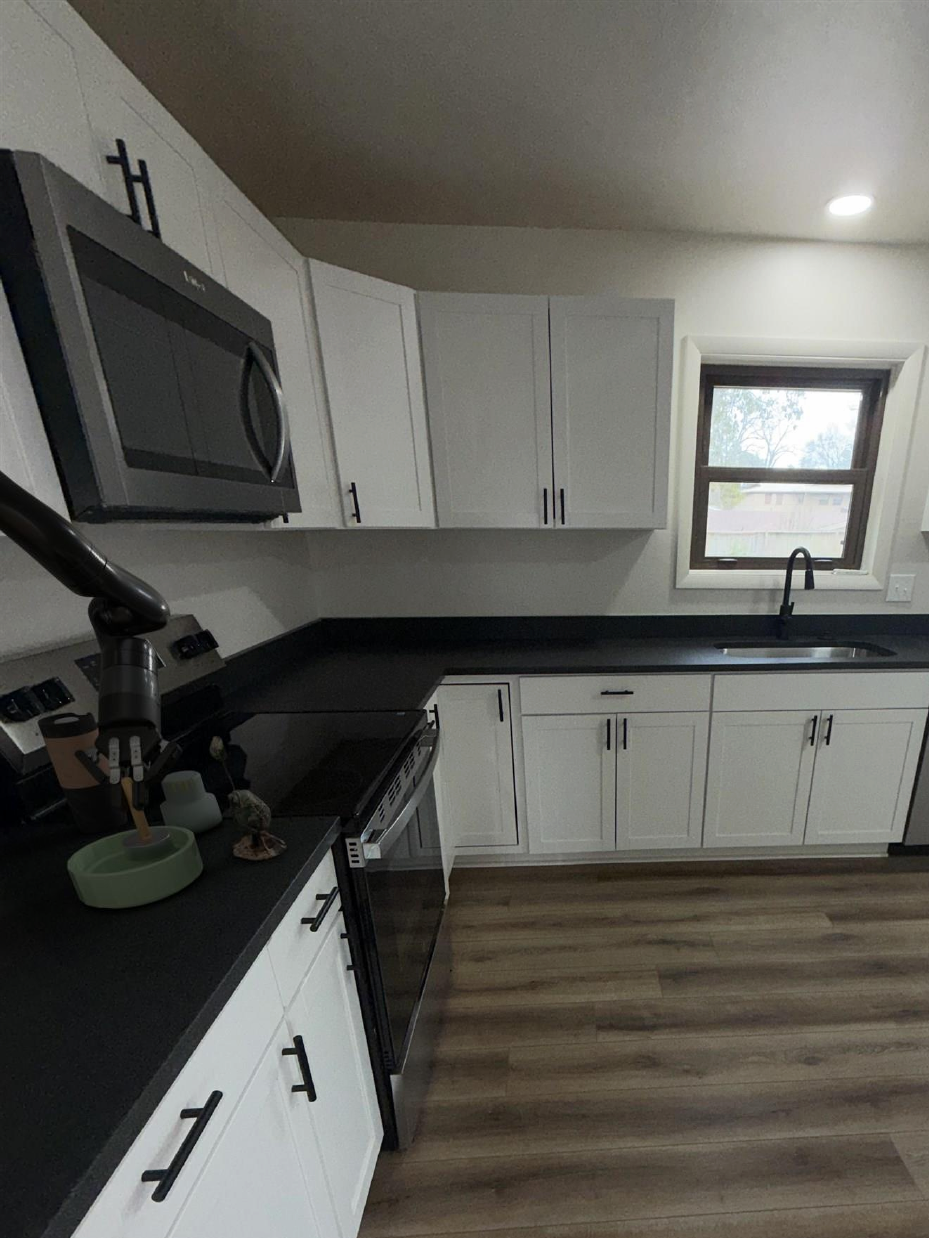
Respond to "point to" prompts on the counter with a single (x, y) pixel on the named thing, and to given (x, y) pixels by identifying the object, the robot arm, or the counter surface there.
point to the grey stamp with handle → (144, 834)
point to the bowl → (133, 871)
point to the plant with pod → (249, 818)
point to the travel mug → (80, 771)
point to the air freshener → (189, 803)
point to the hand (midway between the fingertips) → (130, 809)
